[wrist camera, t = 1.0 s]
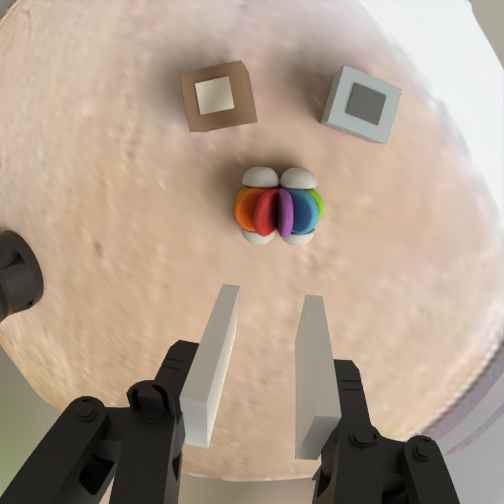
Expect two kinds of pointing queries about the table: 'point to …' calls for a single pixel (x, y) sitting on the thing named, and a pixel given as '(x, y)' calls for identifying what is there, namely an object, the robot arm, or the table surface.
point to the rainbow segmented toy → (278, 206)
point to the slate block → (361, 105)
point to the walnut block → (218, 97)
